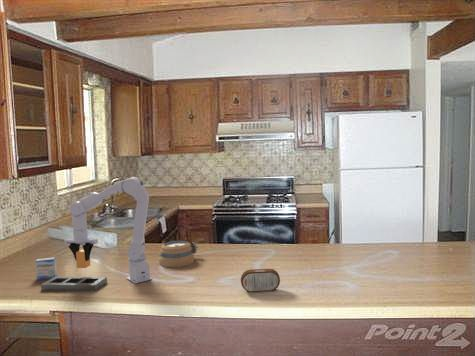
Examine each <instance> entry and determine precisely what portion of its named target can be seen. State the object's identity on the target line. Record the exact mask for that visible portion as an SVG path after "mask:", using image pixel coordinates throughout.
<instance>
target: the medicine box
mask: <svg viewBox="0 0 475 356" xmlns="http://www.w3.org/2000/svg"><path fill="white" fill-rule="evenodd" d="M35 270H36V280H37V281H40V280H41V281H42V280H50V279H52V278H53V277H58V268H57V257H56V256H54V257H44V258H43V257H42V258H38V259H36V260H35Z"/></svg>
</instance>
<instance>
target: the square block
mask: <svg viewBox="0 0 475 356" xmlns="http://www.w3.org/2000/svg"><path fill="white" fill-rule="evenodd" d="M75 261H76V268H77V269H86V268H88V267H90V266H91V257H90V258H89V260H88V261H85V253H84V249H79V251H77V252H76V260H75Z"/></svg>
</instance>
